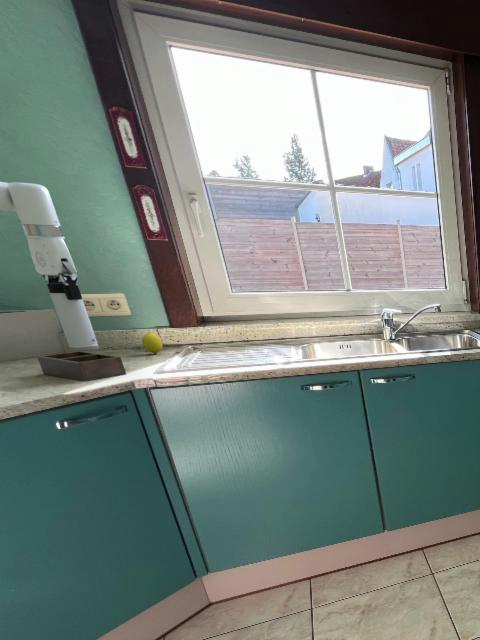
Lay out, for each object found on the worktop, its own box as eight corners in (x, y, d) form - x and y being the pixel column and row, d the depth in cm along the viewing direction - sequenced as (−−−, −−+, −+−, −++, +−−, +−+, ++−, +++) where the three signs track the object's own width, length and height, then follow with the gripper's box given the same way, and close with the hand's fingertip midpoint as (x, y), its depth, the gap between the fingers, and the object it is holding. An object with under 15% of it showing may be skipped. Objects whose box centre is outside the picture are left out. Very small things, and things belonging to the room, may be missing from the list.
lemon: (149, 356, 181) (142, 334, 178) (143, 354, 184) (136, 332, 181) (167, 353, 185) (161, 332, 182) (161, 352, 188) (155, 331, 185)
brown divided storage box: (84, 381, 147) (77, 362, 144) (43, 374, 153) (36, 356, 151) (126, 374, 156) (120, 356, 154) (86, 367, 162) (80, 350, 160)
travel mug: (105, 348, 151) (81, 280, 144) (76, 352, 146) (51, 281, 138) (94, 346, 154) (71, 279, 146) (66, 349, 148) (40, 280, 141)
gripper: (7, 231, 137) (33, 298, 143) (44, 232, 132) (69, 301, 138) (43, 232, 143) (66, 296, 150) (80, 233, 138) (102, 299, 145)
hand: (67, 298), depth 144 cm, fingers closed on travel mug, 6 cm apart
